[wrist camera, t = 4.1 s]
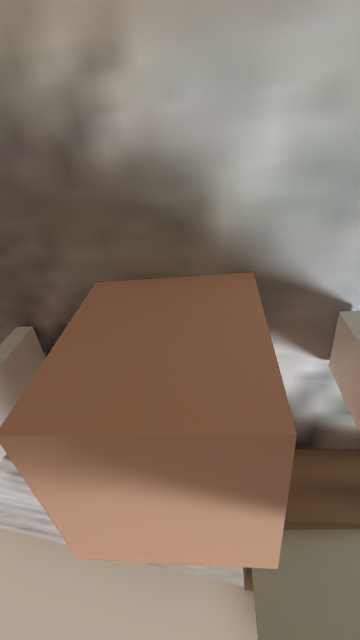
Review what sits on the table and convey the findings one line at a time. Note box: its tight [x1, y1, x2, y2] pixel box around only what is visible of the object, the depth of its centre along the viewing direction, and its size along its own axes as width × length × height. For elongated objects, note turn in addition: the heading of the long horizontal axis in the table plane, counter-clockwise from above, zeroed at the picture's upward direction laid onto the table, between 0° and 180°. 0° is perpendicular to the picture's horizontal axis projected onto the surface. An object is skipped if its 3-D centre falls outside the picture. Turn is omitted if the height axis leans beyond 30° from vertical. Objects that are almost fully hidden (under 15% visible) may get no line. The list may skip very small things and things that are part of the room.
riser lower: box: [243, 449, 360, 594], centre depth 18 cm, size 9×9×4 cm
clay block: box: [0, 272, 297, 569], centre depth 11 cm, size 6×6×7 cm
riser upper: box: [252, 529, 360, 640], centre depth 15 cm, size 8×8×4 cm
